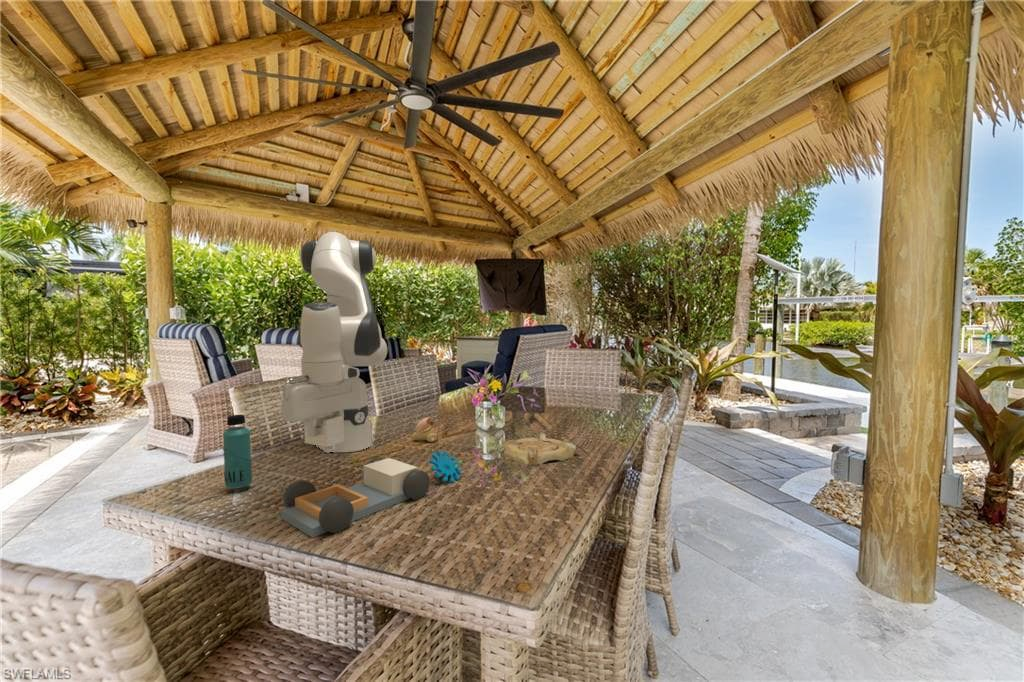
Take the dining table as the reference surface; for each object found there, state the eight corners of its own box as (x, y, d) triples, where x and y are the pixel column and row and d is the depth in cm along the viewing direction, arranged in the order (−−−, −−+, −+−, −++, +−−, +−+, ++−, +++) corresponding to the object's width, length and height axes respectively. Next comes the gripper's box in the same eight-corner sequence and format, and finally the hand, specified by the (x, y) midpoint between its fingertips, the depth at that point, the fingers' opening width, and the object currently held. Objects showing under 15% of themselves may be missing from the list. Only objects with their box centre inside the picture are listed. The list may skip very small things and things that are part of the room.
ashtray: (584, 464, 145) (584, 448, 144) (509, 468, 141) (509, 452, 140) (563, 442, 168) (563, 428, 168) (498, 445, 164) (498, 431, 164)
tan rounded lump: (446, 442, 169) (435, 428, 162) (421, 456, 168) (409, 442, 162) (439, 424, 175) (428, 410, 169) (416, 437, 175) (404, 423, 168)
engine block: (304, 443, 107) (304, 417, 106) (322, 437, 111) (321, 412, 111) (327, 446, 104) (326, 420, 103) (344, 441, 108) (343, 415, 108)
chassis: (277, 516, 108) (276, 486, 107) (391, 477, 133) (391, 453, 132) (317, 540, 97) (316, 508, 96) (434, 492, 121) (433, 466, 121)
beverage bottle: (249, 482, 128) (246, 411, 127) (256, 489, 124) (253, 415, 122) (221, 489, 124) (218, 415, 122) (228, 496, 119) (225, 419, 118)
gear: (440, 482, 124) (426, 450, 129) (429, 494, 127) (416, 462, 132) (470, 477, 132) (456, 447, 137) (459, 488, 135) (446, 458, 140)
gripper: (294, 380, 96) (296, 446, 97) (364, 368, 114) (365, 424, 115) (272, 378, 98) (275, 443, 99) (345, 367, 117) (346, 421, 118)
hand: (324, 432), depth 107 cm, fingers closed on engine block, 5 cm apart
